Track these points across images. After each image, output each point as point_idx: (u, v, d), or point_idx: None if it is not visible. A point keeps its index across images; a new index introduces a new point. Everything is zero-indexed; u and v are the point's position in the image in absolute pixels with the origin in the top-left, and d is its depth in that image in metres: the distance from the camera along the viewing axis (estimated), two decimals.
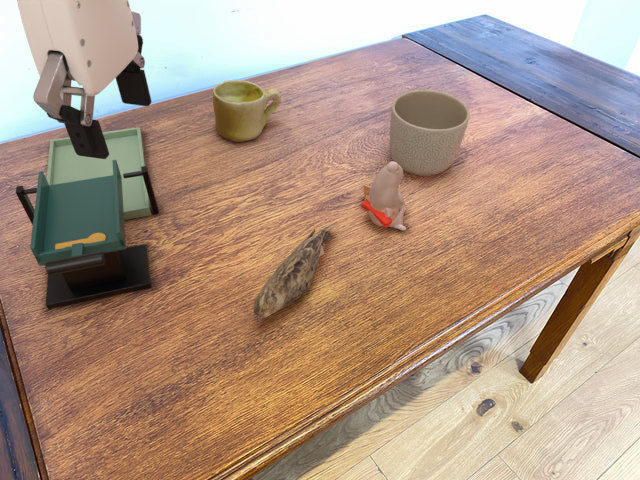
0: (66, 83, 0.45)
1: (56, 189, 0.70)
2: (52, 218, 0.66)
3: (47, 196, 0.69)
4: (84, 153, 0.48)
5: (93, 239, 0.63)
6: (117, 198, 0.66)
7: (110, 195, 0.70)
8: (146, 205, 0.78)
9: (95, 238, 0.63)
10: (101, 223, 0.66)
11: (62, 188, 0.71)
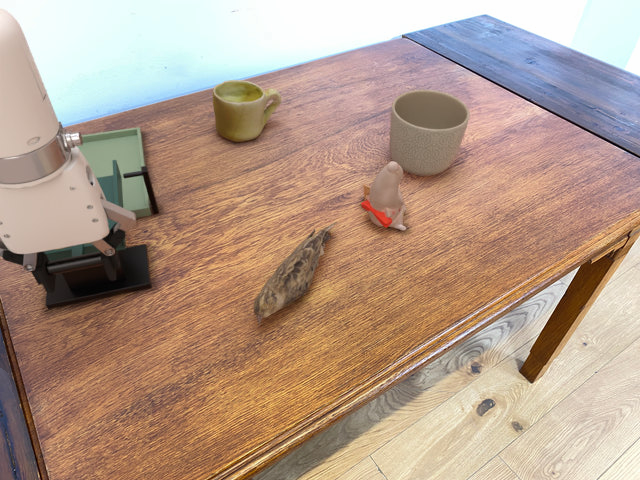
0: None
1: None
2: None
3: None
4: None
5: None
6: (117, 198, 0.66)
7: (110, 195, 0.70)
8: (146, 205, 0.78)
9: None
10: None
11: None
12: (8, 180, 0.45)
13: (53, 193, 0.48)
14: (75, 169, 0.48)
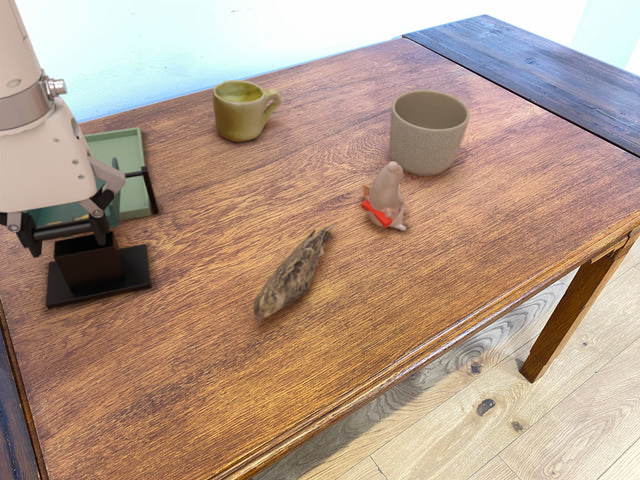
0: None
1: None
2: (48, 207, 0.65)
3: None
4: None
5: None
6: None
7: None
8: (146, 205, 0.78)
9: None
10: None
11: None
12: None
13: (36, 144, 0.46)
14: (59, 119, 0.46)
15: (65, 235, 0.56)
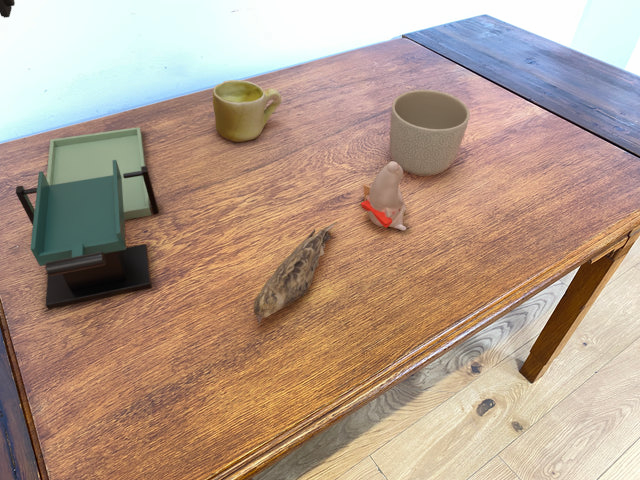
0: None
1: (56, 189, 0.70)
2: (53, 218, 0.66)
3: (47, 196, 0.69)
4: None
5: None
6: (117, 198, 0.66)
7: (110, 195, 0.70)
8: (146, 205, 0.78)
9: None
10: (101, 223, 0.66)
11: (62, 188, 0.71)
12: None
13: None
14: None
15: (78, 269, 0.58)
